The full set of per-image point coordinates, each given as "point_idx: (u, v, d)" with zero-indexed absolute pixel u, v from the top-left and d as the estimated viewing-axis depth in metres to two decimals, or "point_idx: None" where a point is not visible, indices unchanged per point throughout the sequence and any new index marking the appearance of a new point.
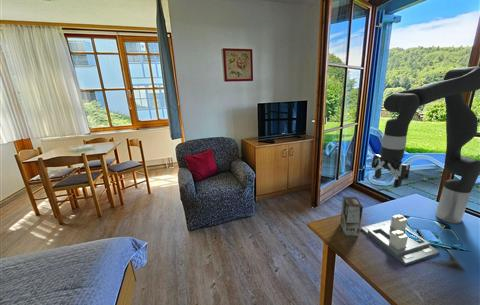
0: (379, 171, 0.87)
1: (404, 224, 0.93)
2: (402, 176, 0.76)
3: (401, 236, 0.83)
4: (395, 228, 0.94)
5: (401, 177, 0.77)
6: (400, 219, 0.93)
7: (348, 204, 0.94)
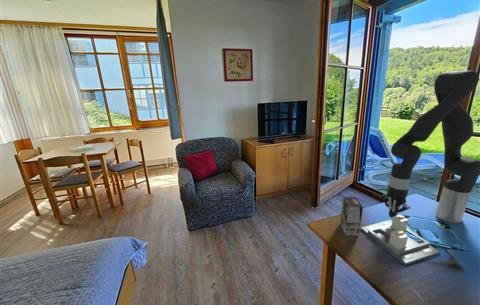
0: None
1: (404, 225, 0.92)
2: (398, 211, 0.93)
3: (401, 236, 0.83)
4: (396, 228, 0.94)
5: (396, 210, 0.93)
6: (401, 219, 0.92)
7: (348, 204, 0.94)
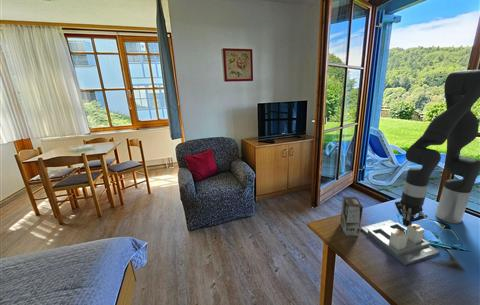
0: None
1: (420, 234, 0.86)
2: (414, 220, 0.86)
3: (401, 236, 0.83)
4: (411, 239, 0.88)
5: (412, 219, 0.87)
6: (417, 229, 0.86)
7: (348, 204, 0.94)
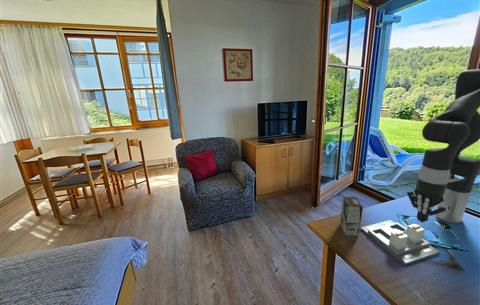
0: None
1: (420, 235, 0.86)
2: (432, 213, 0.70)
3: (401, 236, 0.83)
4: (411, 239, 0.88)
5: (429, 212, 0.71)
6: (417, 229, 0.86)
7: (348, 204, 0.94)
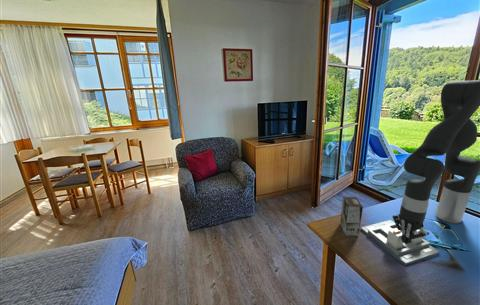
0: None
1: None
2: (414, 237, 0.77)
3: (398, 234, 0.84)
4: None
5: (411, 236, 0.78)
6: None
7: (348, 204, 0.94)
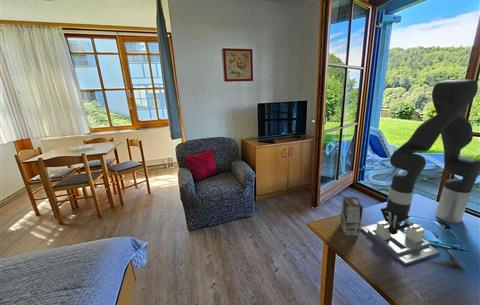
0: None
1: (420, 235, 0.86)
2: (399, 228, 0.82)
3: (386, 226, 0.89)
4: (411, 239, 0.88)
5: (397, 227, 0.83)
6: (417, 229, 0.86)
7: (348, 204, 0.94)
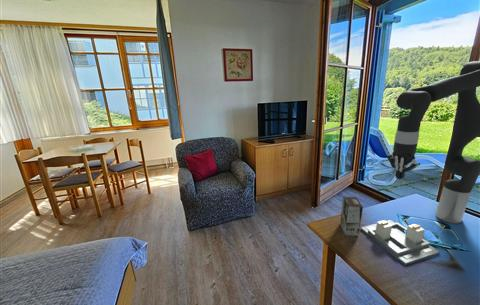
0: None
1: (420, 235, 0.86)
2: (406, 170, 0.84)
3: (386, 226, 0.89)
4: (411, 239, 0.88)
5: (404, 169, 0.85)
6: (417, 229, 0.86)
7: (348, 204, 0.94)
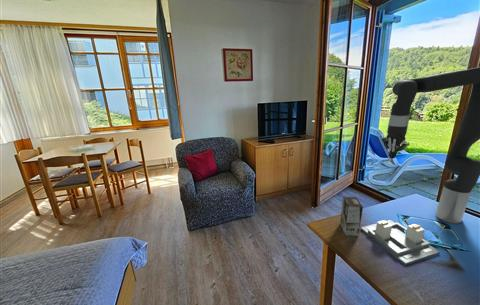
0: None
1: (420, 235, 0.86)
2: (398, 149, 0.97)
3: (386, 226, 0.89)
4: (411, 239, 0.88)
5: (396, 149, 0.98)
6: (417, 229, 0.86)
7: (348, 204, 0.94)
